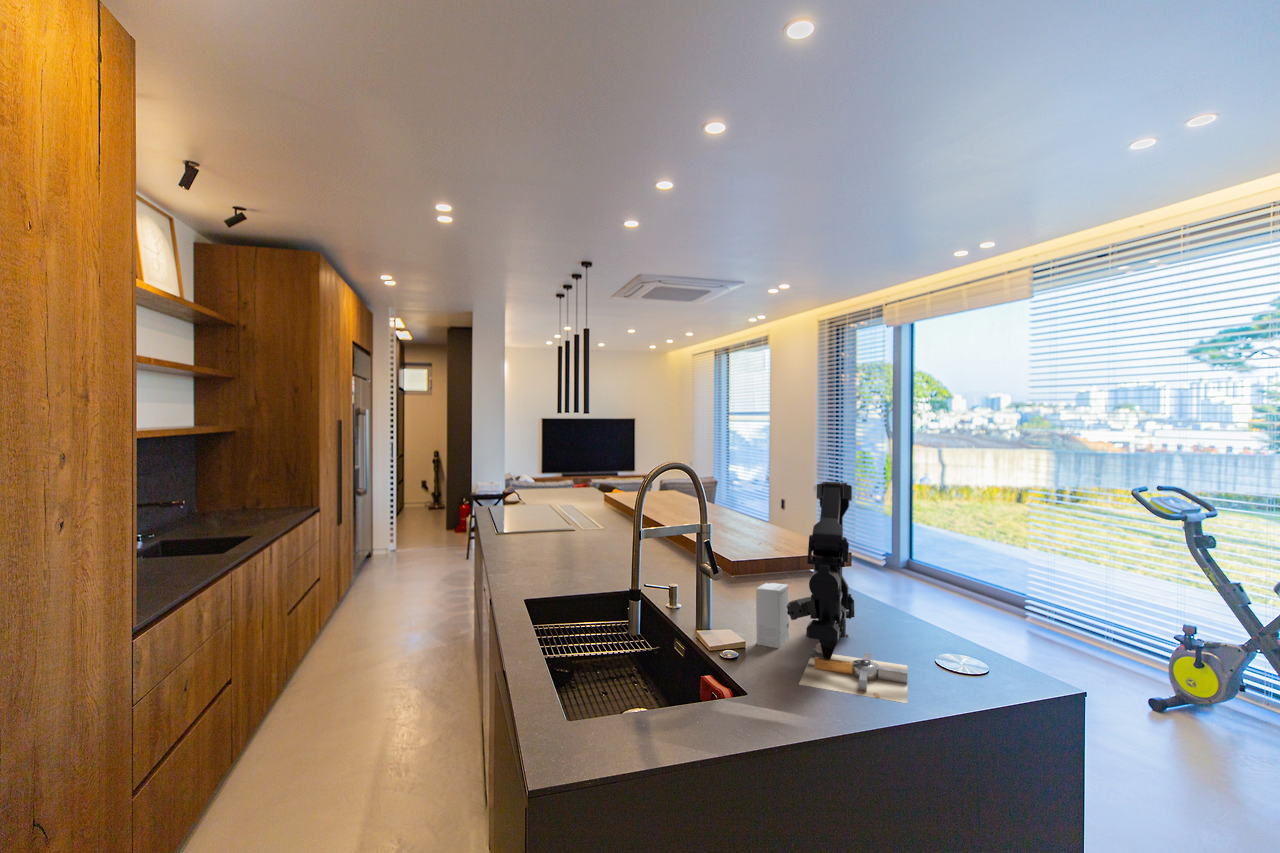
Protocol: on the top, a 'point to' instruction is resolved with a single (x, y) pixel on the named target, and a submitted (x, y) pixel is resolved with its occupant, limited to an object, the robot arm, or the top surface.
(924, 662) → the top surface
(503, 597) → the top surface
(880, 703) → the top surface
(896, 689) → the board with rotating cross
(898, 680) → the capstan
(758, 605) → the skincare box
